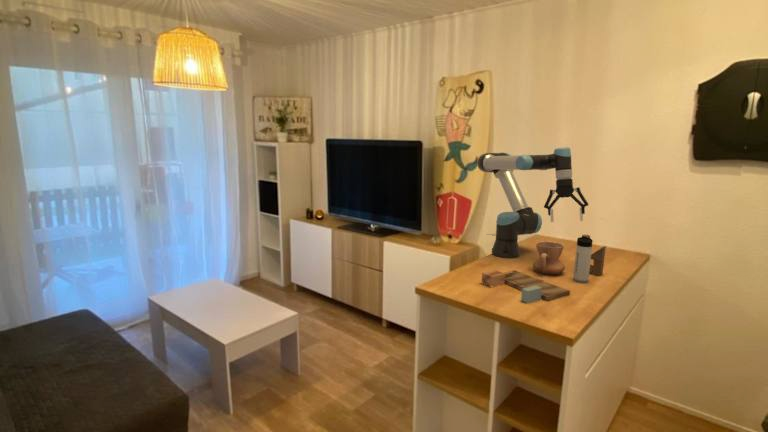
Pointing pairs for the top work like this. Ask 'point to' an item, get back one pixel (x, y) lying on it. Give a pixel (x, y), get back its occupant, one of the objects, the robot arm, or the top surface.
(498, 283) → the brown wooden handled block
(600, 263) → the wooden block
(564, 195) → the robot arm
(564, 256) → the top surface
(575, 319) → the top surface
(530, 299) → the block
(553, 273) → the ceramic jug
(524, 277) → the board
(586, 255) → the travel mug
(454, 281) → the top surface
